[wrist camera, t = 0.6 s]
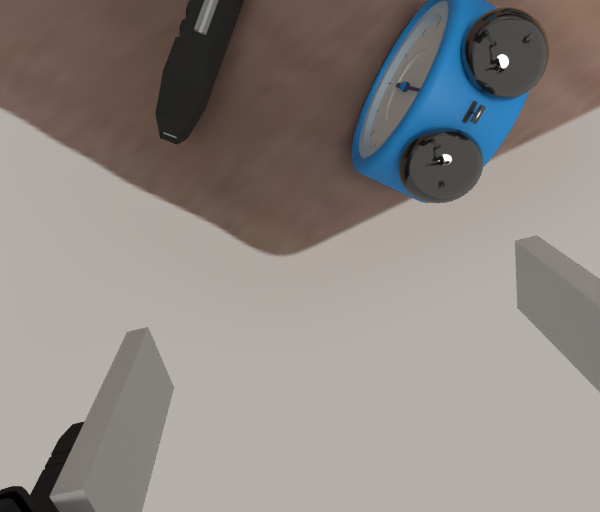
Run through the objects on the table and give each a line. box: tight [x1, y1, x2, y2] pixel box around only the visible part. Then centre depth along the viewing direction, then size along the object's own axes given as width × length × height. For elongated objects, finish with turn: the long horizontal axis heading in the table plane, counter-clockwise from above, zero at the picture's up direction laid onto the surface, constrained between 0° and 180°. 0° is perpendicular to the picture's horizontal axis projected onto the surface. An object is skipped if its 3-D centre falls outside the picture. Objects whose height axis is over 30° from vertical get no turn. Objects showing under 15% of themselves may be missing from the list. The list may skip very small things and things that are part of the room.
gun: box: [156, 0, 244, 144], centre depth 34 cm, size 3×16×10 cm, turn 158°
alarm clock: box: [351, 0, 549, 203], centre depth 32 cm, size 13×6×15 cm, turn 155°
